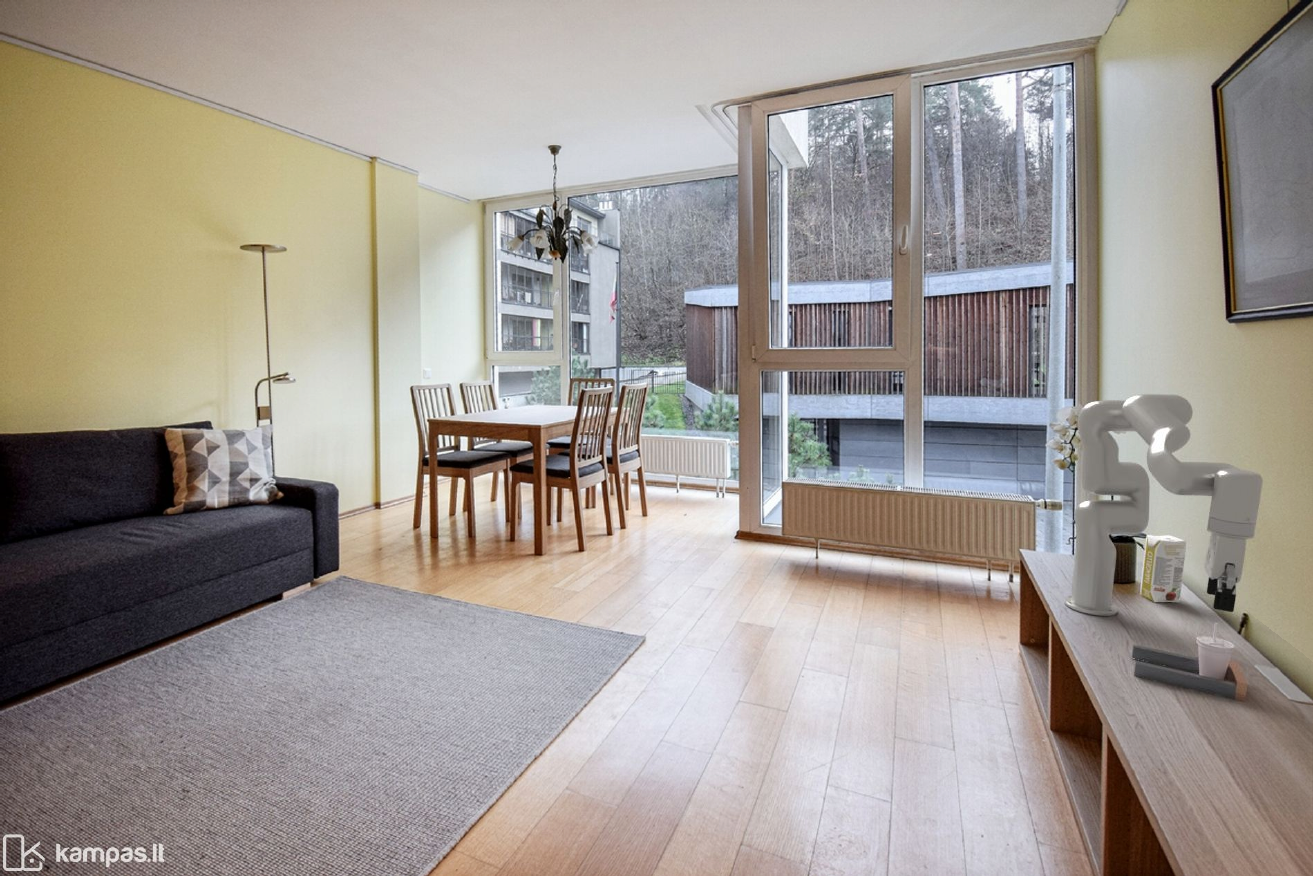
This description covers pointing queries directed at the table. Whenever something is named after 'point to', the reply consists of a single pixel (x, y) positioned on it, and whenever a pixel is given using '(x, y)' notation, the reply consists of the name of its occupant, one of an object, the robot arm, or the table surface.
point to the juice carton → (1163, 568)
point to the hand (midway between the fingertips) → (1219, 602)
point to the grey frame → (1230, 688)
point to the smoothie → (1214, 655)
